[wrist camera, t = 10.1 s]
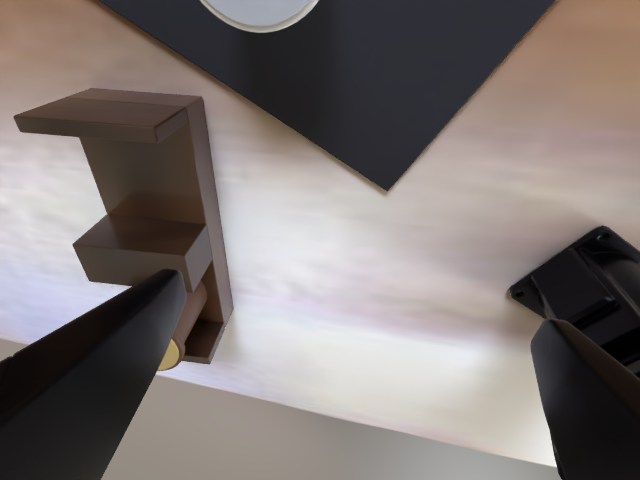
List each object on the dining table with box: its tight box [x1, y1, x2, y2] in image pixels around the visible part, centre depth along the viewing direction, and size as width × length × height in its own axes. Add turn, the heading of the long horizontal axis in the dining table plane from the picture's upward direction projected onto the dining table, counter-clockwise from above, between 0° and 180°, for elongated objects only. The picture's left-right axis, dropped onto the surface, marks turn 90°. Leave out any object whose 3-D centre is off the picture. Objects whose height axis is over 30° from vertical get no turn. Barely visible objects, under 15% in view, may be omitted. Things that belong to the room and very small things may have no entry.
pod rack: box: [14, 88, 233, 364], centre depth 21 cm, size 6×16×5 cm, turn 178°
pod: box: [157, 280, 207, 371], centre depth 21 cm, size 5×5×5 cm
